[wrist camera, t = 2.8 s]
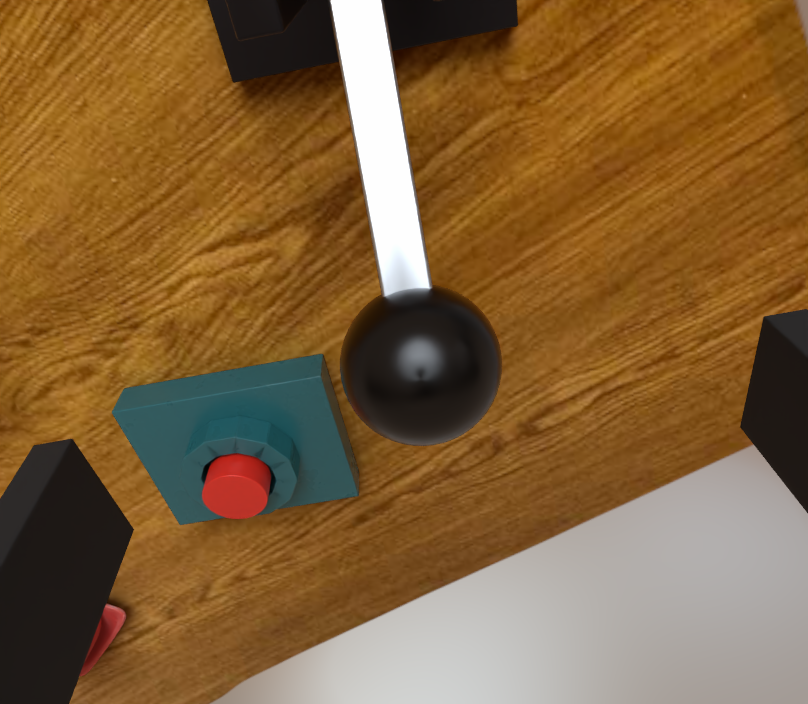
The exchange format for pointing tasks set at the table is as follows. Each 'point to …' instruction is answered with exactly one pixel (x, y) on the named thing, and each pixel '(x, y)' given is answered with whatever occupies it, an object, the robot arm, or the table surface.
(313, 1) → the bracket
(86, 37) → the table surface
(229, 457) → the button
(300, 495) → the button box
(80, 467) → the robot arm
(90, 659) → the butter dish
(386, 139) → the lever
